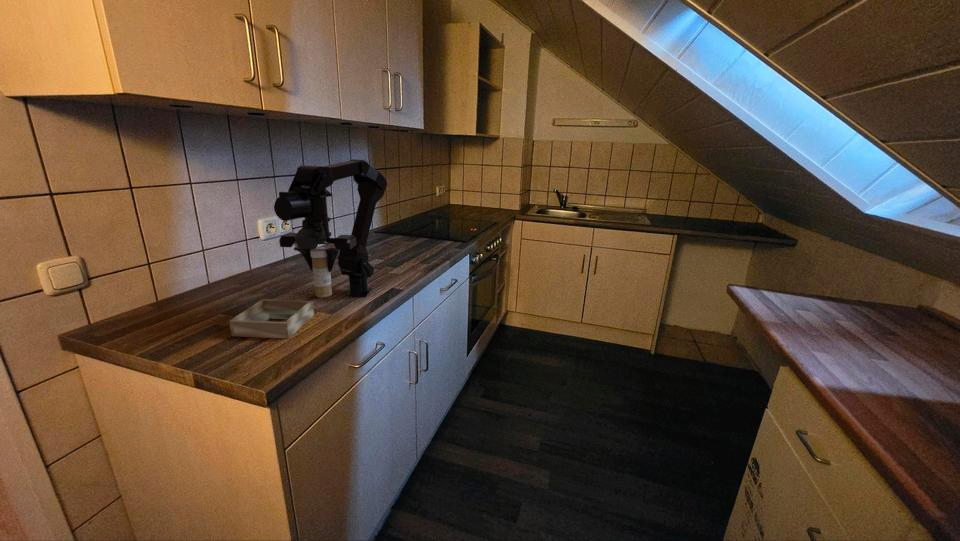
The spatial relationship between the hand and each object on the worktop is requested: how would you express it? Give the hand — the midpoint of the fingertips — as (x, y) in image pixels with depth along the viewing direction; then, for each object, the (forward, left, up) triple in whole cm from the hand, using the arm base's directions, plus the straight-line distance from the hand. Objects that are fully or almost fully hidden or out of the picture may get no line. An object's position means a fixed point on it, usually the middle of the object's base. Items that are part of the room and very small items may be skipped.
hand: (321, 271), depth 103 cm
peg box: (+10, -9, -12) cm, 18 cm away
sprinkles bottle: (0, 0, -7) cm, 7 cm away
